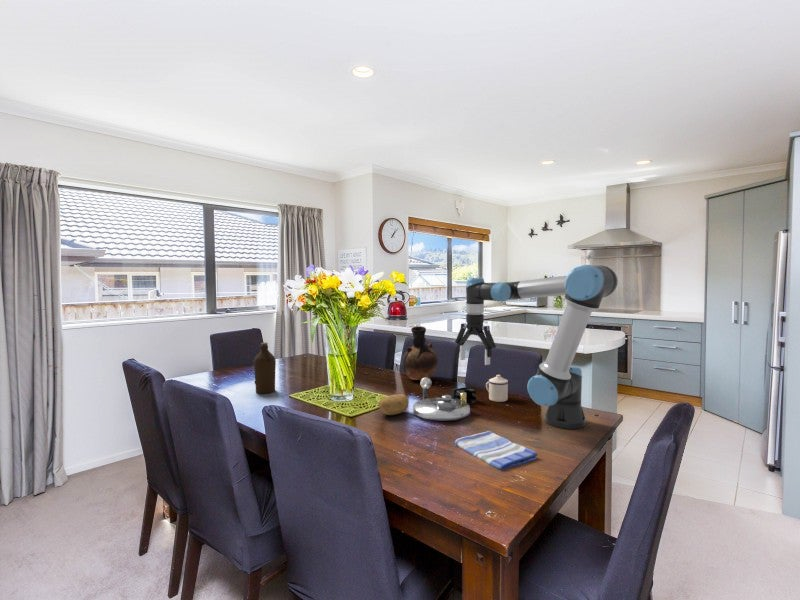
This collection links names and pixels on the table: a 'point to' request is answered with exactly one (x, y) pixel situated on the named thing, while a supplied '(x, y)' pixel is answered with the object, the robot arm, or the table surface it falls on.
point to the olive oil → (264, 371)
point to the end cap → (469, 396)
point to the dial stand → (425, 386)
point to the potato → (393, 404)
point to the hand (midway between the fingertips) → (474, 362)
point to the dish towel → (496, 450)
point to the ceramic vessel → (419, 356)
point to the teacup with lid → (498, 389)
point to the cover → (446, 403)
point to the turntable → (430, 411)
